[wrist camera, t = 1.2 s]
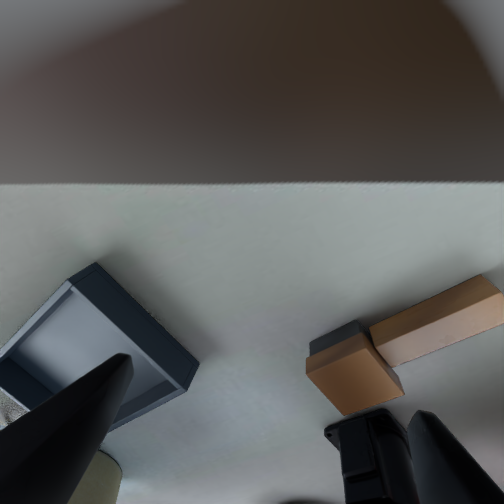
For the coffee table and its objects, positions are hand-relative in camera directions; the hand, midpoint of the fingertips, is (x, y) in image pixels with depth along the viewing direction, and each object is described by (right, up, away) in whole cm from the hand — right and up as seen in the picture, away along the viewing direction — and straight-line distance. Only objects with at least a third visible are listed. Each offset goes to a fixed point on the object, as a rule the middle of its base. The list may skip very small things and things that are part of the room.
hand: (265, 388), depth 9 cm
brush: (+10, -1, +12) cm, 16 cm away
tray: (-17, -7, +20) cm, 27 cm away
